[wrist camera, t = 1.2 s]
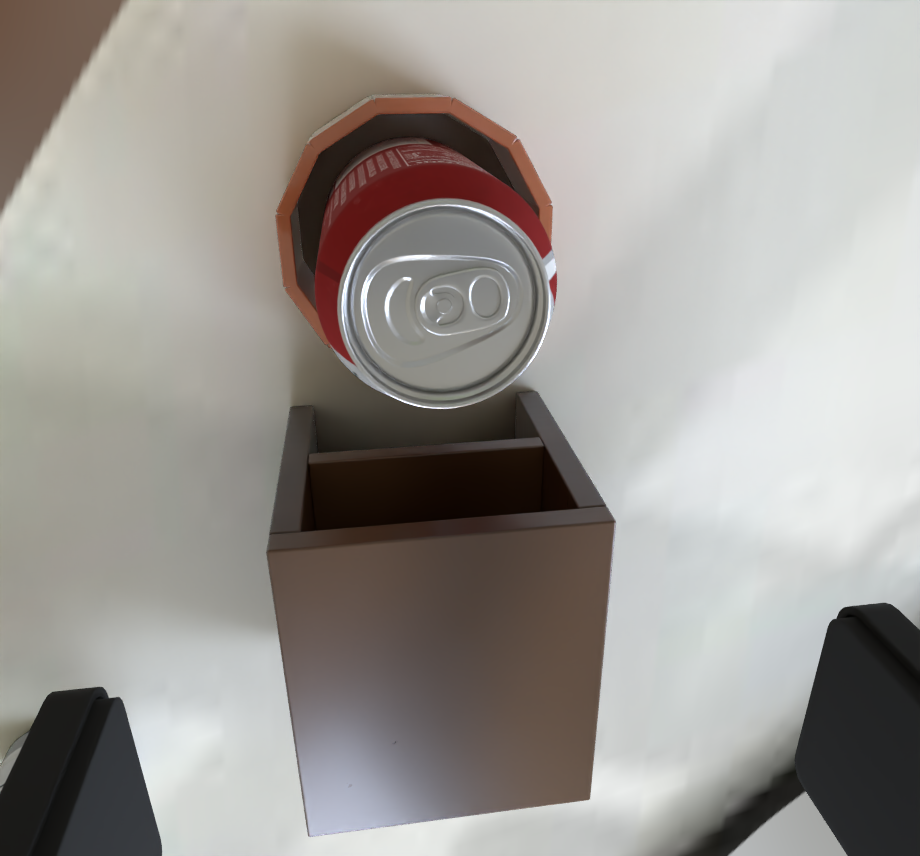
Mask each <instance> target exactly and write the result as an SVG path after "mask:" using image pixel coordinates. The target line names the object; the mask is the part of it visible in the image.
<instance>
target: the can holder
mask: <svg viewBox="0 0 920 856" xmlns="http://www.w3.org/2000/svg"><path fill="white" fill-rule="evenodd" d="M432 113H444V114H446V115H448V116H449V117H451V118H452V119H454V120H456V121H457V122H459V123H461V124H462V125H464V126H466V127H467V128H469V129H471V130H472V131H474V132H476V133H477V134H479V135H481V136H482V137H484V138H485V139H487V140H488V141H489V143H490V145H491V147H492V148H493V150H494V152H495V154H496V156H497V158H498V160H499V162H500V163H501V165H502V167H503V169H504V171H505V173H506V175H507V177H508V178H509V180H510V182H511V184H512V186H513V188H514V190H515V192H516V193H518V194H519V195H520V196H521V197H522V198H523V199H524V200H525V201H526V202H527V203H528V205H529V206H530V207H531V208H532V210H533V211H534V212H535V214H536V215H537V217H538V218H539V220H540V221H541V223H542V225H543V227H544V229H545V231H546V233H547V235H548V238H549V241H550V243H551V235H552V211H553V206H552V205H550V204H551V203H552V202H551V200H550V198H549V196H548V194H547V192H546V190H545V188H544V186H543V184H542V182H541V180H540V178H539V176H538V174H537V172H536V170H535V168H534V167H533V165H532V163H531V161H530V159H529V157H528V155H527V153H526V151H525V149H524V147H523V145H522V143H521V141H520V140H519V139H517V136H516V135H514V134H512V133H511V132H509V131H508V130H506V129H504V128H503V127H501V126H499V125H498V124H496V123H495V122H493V121H491V120H490V119H488V118H486V117H485V116H483V115H482V114H480V113H478V112H477V111H475V110H474V109H472V108H470V107H469V106H467V105H465V104H464V103H462V102H461V101H459V100H457V99H456V98H452V97H449V96H444V95H440V94H391V95H371V97H369V96H367V97H366V98H364V99H363V100H361V101H360V102H358V103H357V104H355V105H354V106H352V107H351V108H349V109H348V110H346V111H345V112H343V113H342V114H340V115H339V116H337V117H336V118H334V119H333V120H331V121H330V122H328V123H327V124H325V125H324V126H322V127H321V128H319V129H318V130H316V131H315V132H314V133H313V135H311V137H310V138H309V140H308V142H307V144H306V146H305V148H304V150H303V152H302V155H301V157H300V159H299V161H298V164H297V166H296V168H295V170H294V172H293V175H292V177H291V179H290V181H289V183H288V186H287V188H286V190H285V192H284V195H283V197H282V199H281V201H280V203H279V206H278V208H277V210H276V212H277V213H276V216H275V217H276V226H277V235H278V243H279V252H280V261H281V270H282V278H283V286H284V287H285V291H286V292H287V294H288V295H289V296H290V298H291V299H292V300H293V302H294V303H295V304H296V306H297V307H298V309H299V310H300V311H301V313H302V314H303V315H304V317H305V318H306V320H307V321H308V322H309V324H310V325H311V326H312V328H313V329H314V330H315V332H316V333H317V335H318V336H319V337H320V339H321V340H322V341H323V343H324V344H325V345H327V344H328V347H329V348H331V349H332V347H331V346H330V344H329V342H328V340H327V338H326V336H325V334H324V331H323V329H322V326H321V323H320V320H319V317H318V312H317V308H316V301H315V275H314V274H313V273H312V271H311V270H310V268H309V267H308V265H307V264H306V263H305V261H304V260H303V252H302V242H301V232H300V223H299V213H298V203H297V202H298V200H299V197H300V195H301V193H302V191H303V189H304V187H305V184H306V182H307V180H308V178H309V176H310V173H311V171H312V169H313V167H314V165H315V163H316V160H317V158H318V156H319V154H320V153H321V152H323V151H324V150H326V149H327V148H329V147H330V146H332V145H333V144H335V143H336V142H338V141H339V140H341V139H342V138H344V137H345V136H347V135H348V134H350V133H351V132H353V131H354V130H356V129H357V128H359V127H360V126H362V125H363V124H365V123H366V122H368V121H369V120H371V119H372V118H374V117H375V116H377V115H378V114H432Z"/></svg>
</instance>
